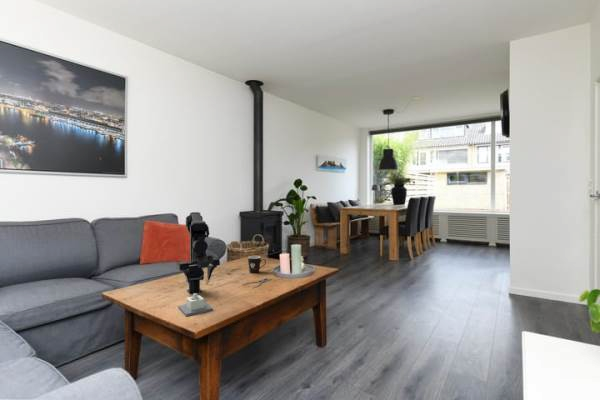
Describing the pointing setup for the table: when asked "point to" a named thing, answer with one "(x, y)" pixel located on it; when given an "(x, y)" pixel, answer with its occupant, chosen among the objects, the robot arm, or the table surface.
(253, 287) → the pliers
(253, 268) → the coffee mug
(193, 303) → the hollow square sleeve
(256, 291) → the table surface
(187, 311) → the post stand
